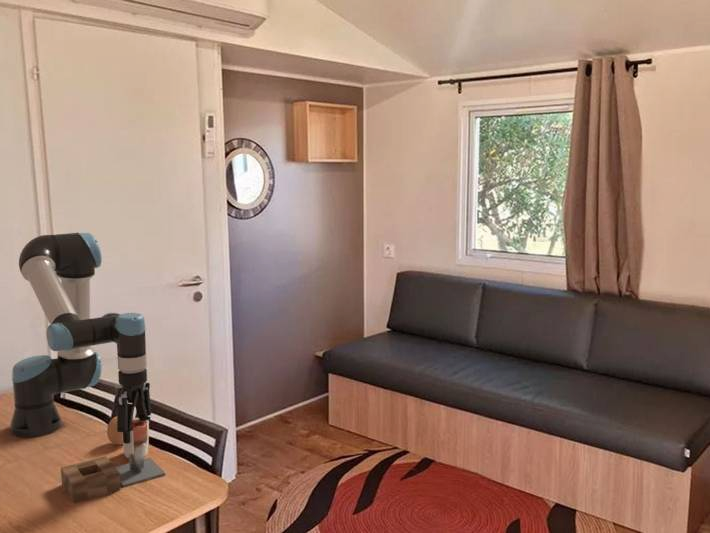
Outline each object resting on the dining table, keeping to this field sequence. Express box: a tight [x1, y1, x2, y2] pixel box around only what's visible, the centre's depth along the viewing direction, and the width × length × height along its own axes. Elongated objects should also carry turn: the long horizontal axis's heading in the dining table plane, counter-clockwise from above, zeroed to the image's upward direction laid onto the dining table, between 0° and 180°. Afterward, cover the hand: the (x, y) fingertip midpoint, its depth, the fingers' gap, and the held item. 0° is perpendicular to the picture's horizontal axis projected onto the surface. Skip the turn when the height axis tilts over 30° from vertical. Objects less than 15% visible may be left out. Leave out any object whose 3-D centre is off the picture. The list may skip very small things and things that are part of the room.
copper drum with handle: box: [128, 419, 148, 470], centre depth 187 cm, size 6×6×14 cm
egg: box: [106, 415, 123, 446], centre depth 206 cm, size 7×7×9 cm
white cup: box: [122, 417, 150, 459], centre depth 200 cm, size 8×8×10 cm
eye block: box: [60, 455, 121, 504], centre depth 180 cm, size 12×12×5 cm
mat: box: [115, 457, 166, 488], centre depth 189 cm, size 12×12×1 cm
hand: (135, 447), depth 188 cm, fingers closed on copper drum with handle, 6 cm apart
